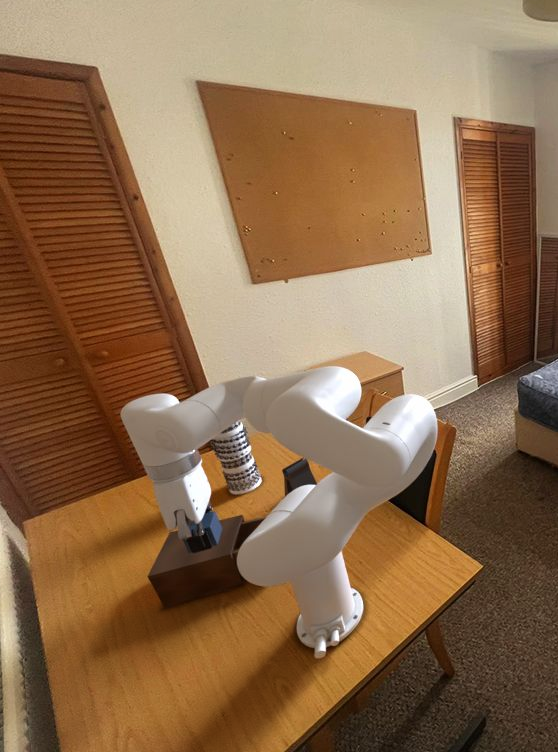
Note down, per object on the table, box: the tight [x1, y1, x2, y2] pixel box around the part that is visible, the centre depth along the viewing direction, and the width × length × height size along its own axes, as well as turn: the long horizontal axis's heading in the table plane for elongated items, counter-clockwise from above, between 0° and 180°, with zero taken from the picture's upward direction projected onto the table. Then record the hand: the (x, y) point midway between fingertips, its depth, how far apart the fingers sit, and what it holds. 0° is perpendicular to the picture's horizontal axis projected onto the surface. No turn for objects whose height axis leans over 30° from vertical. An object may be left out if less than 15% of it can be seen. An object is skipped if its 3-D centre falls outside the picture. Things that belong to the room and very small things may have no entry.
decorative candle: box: [209, 420, 263, 495], centre depth 117 cm, size 9×9×25 cm
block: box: [183, 510, 222, 553], centre depth 77 cm, size 5×5×5 cm
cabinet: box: [147, 514, 246, 609], centre depth 91 cm, size 15×13×10 cm
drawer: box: [232, 515, 268, 577], centre depth 95 cm, size 18×11×8 cm, turn 112°
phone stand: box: [281, 457, 318, 498], centre depth 114 cm, size 9×6×12 cm, turn 59°
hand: (206, 538), depth 78 cm, fingers closed on block, 4 cm apart
